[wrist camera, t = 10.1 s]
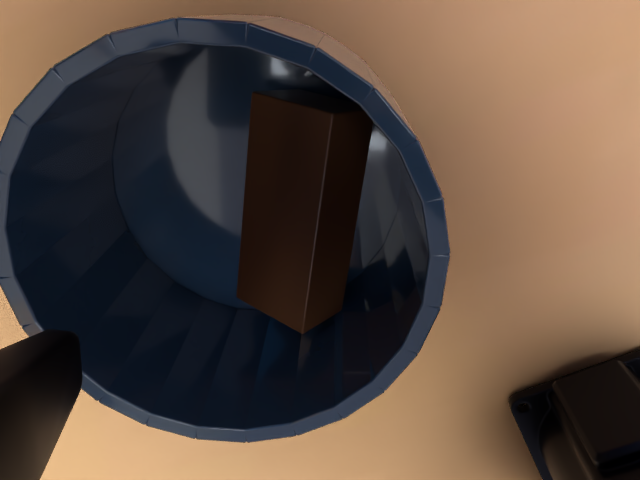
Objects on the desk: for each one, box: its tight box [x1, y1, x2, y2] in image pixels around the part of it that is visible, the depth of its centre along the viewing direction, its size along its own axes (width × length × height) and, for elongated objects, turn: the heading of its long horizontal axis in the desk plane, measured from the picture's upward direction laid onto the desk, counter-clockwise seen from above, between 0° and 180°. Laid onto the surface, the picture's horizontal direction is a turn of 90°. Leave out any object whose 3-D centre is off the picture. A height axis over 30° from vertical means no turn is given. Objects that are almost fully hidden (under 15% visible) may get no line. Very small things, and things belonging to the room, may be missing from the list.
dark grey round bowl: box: [0, 14, 450, 443], centre depth 16 cm, size 11×11×7 cm
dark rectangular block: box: [236, 89, 373, 334], centre depth 17 cm, size 7×2×3 cm
